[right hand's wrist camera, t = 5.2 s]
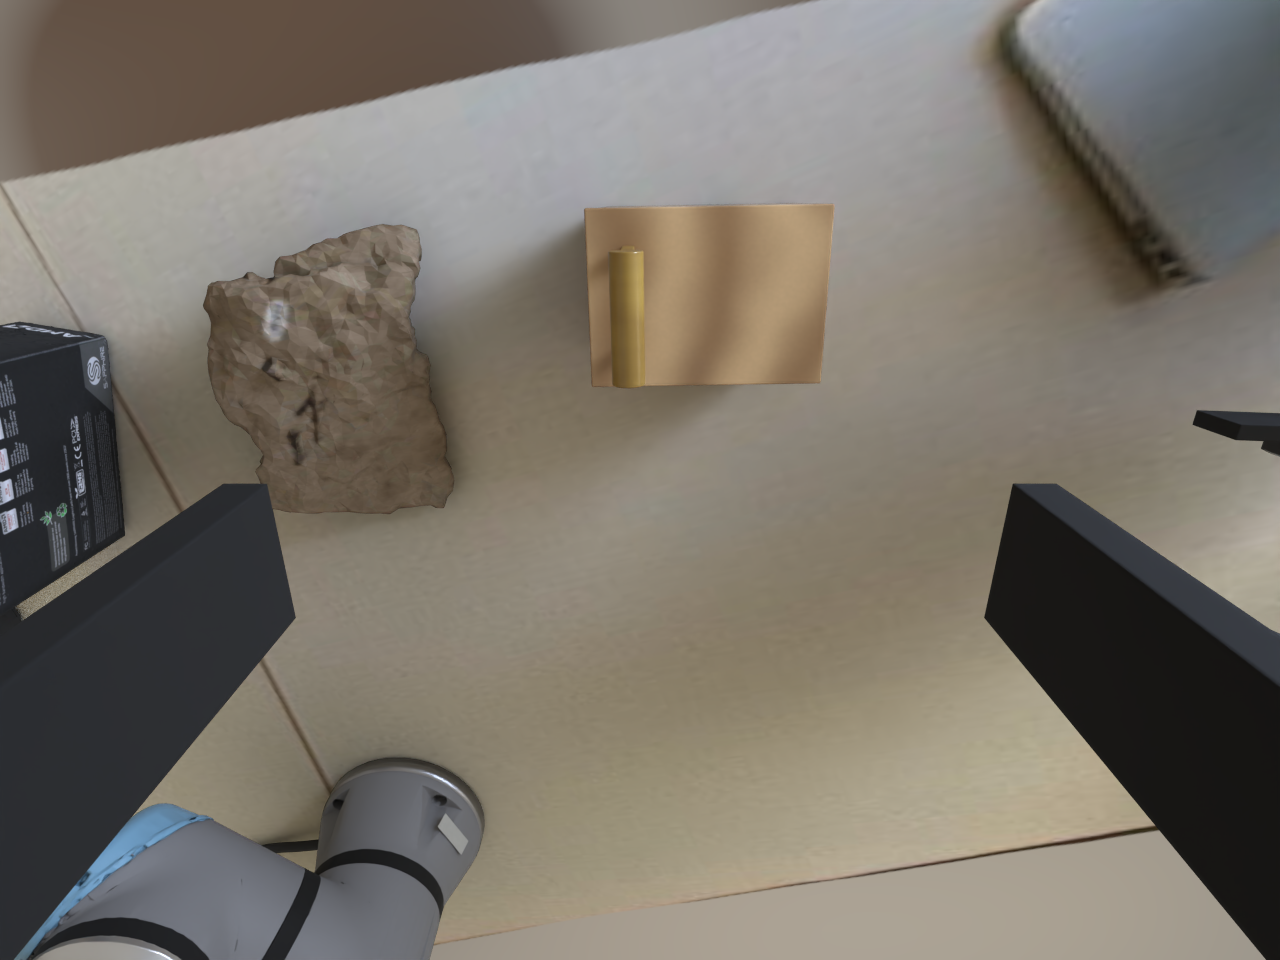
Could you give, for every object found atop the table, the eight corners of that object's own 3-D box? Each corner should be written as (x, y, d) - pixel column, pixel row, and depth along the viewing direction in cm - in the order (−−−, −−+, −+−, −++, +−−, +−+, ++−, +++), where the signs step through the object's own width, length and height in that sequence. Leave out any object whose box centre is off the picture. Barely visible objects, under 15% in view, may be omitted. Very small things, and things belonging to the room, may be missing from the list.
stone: (183, 225, 46) (150, 246, 41) (418, 215, 49) (415, 233, 44) (270, 497, 57) (253, 540, 52) (458, 476, 60) (460, 514, 55)
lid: (592, 382, 43) (581, 425, 35) (585, 208, 39) (571, 209, 31) (816, 378, 43) (857, 420, 35) (829, 203, 39) (879, 204, 31)
